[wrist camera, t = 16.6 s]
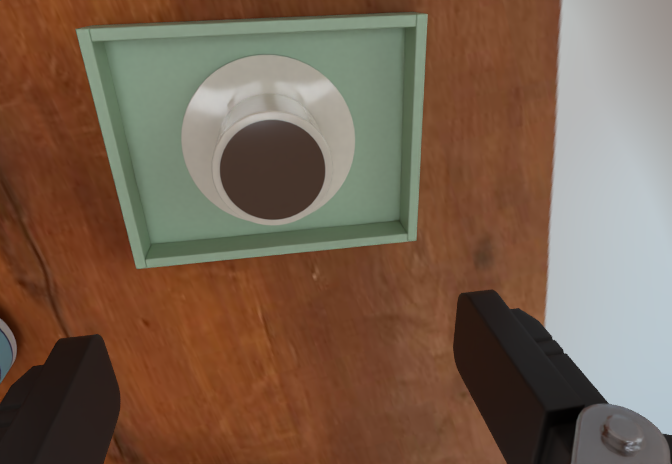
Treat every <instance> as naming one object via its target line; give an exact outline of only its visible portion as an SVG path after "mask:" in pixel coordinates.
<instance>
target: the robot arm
mask: <svg viewBox="0 0 672 464" xmlns="http://www.w3.org/2000/svg"><path fill="white" fill-rule="evenodd" d="M453 351H454V358H455V362H456V366H457V369H458V371H459V373H460V375H461V377H462V379H463V381H464V383H465V385H466V386H467V388H468V390H469V392H470V394H471V396H472V398H473V400H474V402H475V404H476V405H477V407H478V409H479V411H480V413H481V415H482V417H483V419H484V421H485V422H486V424H487V426H488V428H489V430H490V432H491V434H492V436H493V438H494V440H495V441H496V443H497V445H498V447H499V449H500V451H501V453H502V455H503V457H504V459H505V460H506V462H507V464H672V435H667V434H662V433H661V432H660V430H659V429H658V428H657V427H656V426H655V425H654V424H652V423H651V422H650V421H649V420H647V419H646V418H645V417H643V416H641V415H640V414H638V413H636V412H634V411H632V410H629V409H627V408H624V407H621V406H617V405H612V404H609V403H608V402H607V401H606V400H605V399H604V398H603V396H602V395H601V394H600V393H599V392H598V390H597V389H596V388H595V387H594V386H593V384H592V383H591V382H590V381H589V380H588V379H587V377H586V376H585V375H584V374H583V373H582V371H581V370H580V369H579V368H578V367H577V366H576V364H575V363H574V362H573V361H572V360H571V358H569V356H568V355H567V354H564V352H563V349H562V348H561V347H560V346H559V344H558V343H557V342H556V341H555V340H553V339H552V336H551V335H550V334H549V333H548V331H547V330H546V329H545V328H544V327H543V325H542V324H541V323H540V322H539V321H538V320H536V319H535V318H533V317H532V316H530V315H528V314H527V313H525V312H524V311H522V310H521V309H519V308H517V309H509V307H508V306H507V305H506V304H505V302H504V301H503V300H502V298H501V297H500V296H499V295H498V293H497V292H496V291H494V290H484V291H475V292H467V293H461V294H460V295H459V297H458V302H457V313H456V323H455V333H454V343H453ZM119 411H120V391H119V386H118V383H117V380H116V377H115V374H114V370H113V367H112V364H111V361H110V358H109V355H108V352H107V349H106V346H105V343H104V340H103V338H102V337H101V336H100V335H98V334H96V335H87V336H79V337H70V338H62V339H59V340H58V341H57V343H56V344H55V346H54V348H53V349H52V351H51V353H50V355H49V357H48V358H47V360H46V362H45V364H44V365H39V366H33V367H32V368H31V369H29V370H28V371H27V372H26V373H25V374H24V375H23V376H22V377H21V378H19V379H18V380H17V381H16V382H15V383H14V384H13V385H12V386H11V387H10V389H9V390H8V392H7V393H6V395H5V397H4V398H3V400H2V402H1V403H0V464H103V463H104V460H105V457H106V454H107V451H108V448H109V444H110V441H111V438H112V435H113V432H114V429H115V426H116V423H117V420H118V416H119Z"/></svg>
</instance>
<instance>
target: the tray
mask: <svg viewBox="0 0 672 464" xmlns="http://www.w3.org/2000/svg"><path fill="white" fill-rule="evenodd" d="M427 16H428V15H427V14H424V13H417V12H399V13H375V14H352V15H328V16H304V17H280V18H257V19H233V20H209V21H185V22H162V23H138V24H114V25H92V26H87V27H82V28H78V29H76V33H77V37H78V41H79V45H80V49H81V53H82V57H83V61H84V65H85V69H86V73H87V77H88V80H89V84H90V88H91V92H92V96H93V100H94V104H95V108H96V112H97V116H98V120H99V124H100V128H101V131H102V135H103V139H104V143H105V147H106V151H107V155H108V159H109V163H110V167H111V171H112V175H113V179H114V182H115V186H116V190H117V194H118V198H119V202H120V206H121V210H122V214H123V218H124V222H125V226H126V230H127V234H128V237H129V241H130V245H131V249H132V253H133V257H134V261H135V265H136V268H137V269H142V268H151V267H161V266H171V265H181V264H191V263H201V262H210V261H220V260H230V259H240V258H250V257H260V256H270V255H280V254H289V253H299V252H309V251H319V250H329V249H339V248H349V247H359V246H369V245H378V244H388V243H398V242H407V241H416V238H417V218H418V198H419V178H420V157H421V137H422V117H423V97H424V77H425V56H426V36H427ZM255 54H278V55H285V56H289V57H292V58H295V59H298V60H300V61H303V62H305V63H307V64H309V65H311V66H312V67H314V68H315V69H317V70H319V71H320V72H321V73H322V74H323V75H325V76H326V77H327V78H328V79H329V80H330V81H331V82H332V83H333V84H334V86H335V87H336V88H337V89H338V91H339V92H340V94H341V95H342V96H343V98H344V100H345V102H346V104H347V106H348V108H349V111H350V113H351V116H352V120H353V124H354V130H355V152H354V157H353V162H352V165H351V168H350V171H349V173H348V175H347V177H346V179H345V181H344V183H343V184H342V186H341V187H340V189H339V190H338V191H337V192H336V194H335V195H334V196H333V197H332V198H331V199H330V200H329V201H328V202H327V203H326V204H324V205H323V206H322V207H320V208H319V209H318V210H316V211H314V212H312V213H311V214H309V215H307V216H305V217H303V218H301V219H299V220H297V221H295V222H292V223H288V224H283V225H262V224H257V223H254V222H251V221H246V220H243V219H240V218H237V217H235V216H233V215H231V214H229V213H226V212H225V211H223V210H222V209H220V208H218V207H217V206H216V205H214V204H213V203H212V202H211V201H210V200H208V199H207V197H206V196H205V195H204V194H203V193H202V192H201V191H200V190H199V188H198V187H197V186H196V184H195V183H194V181H193V179H192V178H191V176H190V174H189V172H188V169H187V167H186V164H185V161H184V157H183V153H182V144H181V129H182V123H183V118H184V115H185V112H186V108H187V106H188V104H189V102H190V100H191V98H192V96H193V94H194V93H195V91H196V90H197V88H198V87H199V85H200V84H201V83H202V82H203V81H204V80H205V79H206V78H207V77H208V76H209V75H210V74H211V73H213V72H214V71H215V70H216V69H218V68H219V67H221V66H223V65H224V64H226V63H228V62H230V61H233V60H235V59H237V58H241V57H244V56H248V55H255Z"/></svg>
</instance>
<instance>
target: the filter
mask: <svg viewBox="0 0 672 464" xmlns="http://www.w3.org/2000/svg"><path fill="white" fill-rule="evenodd" d="M181 144H182V153H183V157H184V161H185V164H186V167H187V169H188V172H189V174H190V176H191V178H192V179H193V181H194V183H195V184H196V186H197V187H198V188H199V190H200V191H201V192H202V193H203V194H204V195H205V196H206V197H207V199H208V200H210V201H211V202H212V203H213V204H214V205H216V206H217V207H218V208H220V209H222V210H223V211H225V212H226V213H229V214H231V215H233V216H235V217H237V218H240V219H243V220H246V221H251V222H254V223H257V224H262V225H283V224H288V223H292V222H295V221H297V220H299V219H301V218H303V217H305V216H307V215H309V214H311V213H312V212H314V211H316V210H318V209H319V208H320V207H322V206H323V205H324V204H326V203H327V202H328V201H329V200H330V199H331V198H332V197H333V196H334V195H335V194H336V192H337V191H338V190H339V189H340V187H341V186H342V184H343V183H344V181H345V179H346V177H347V175H348V173H349V171H350V168H351V165H352V162H353V157H354V152H355V130H354V124H353V120H352V116H351V113H350V111H349V108H348V106H347V104H346V102H345V100H344V98H343V96H342V95H341V94H340V92H339V91H338V89H337V88H336V87H335V86H334V84H333V83H332V82H331V81H330V80H329V79H328V78H327V77H326V76H325V75H323V74H322V73H321V72H320V71H319V70H317V69H315V68H314V67H312V66H311V65H309V64H307V63H305V62H303V61H300V60H298V59H295V58H292V57H289V56H285V55H278V54H255V55H248V56H244V57H241V58H237V59H235V60H233V61H230V62H228V63H226V64H224V65H223V66H221V67H219V68H218V69H216V70H215V71H214V72H213V73H211V74H210V75H209V76H208V77H207V78H206V79H205V80H204V81H203V82H202V83H201V84H200V85H199V87H198V88H197V90H196V91H195V93H194V94H193V96H192V98H191V100H190V102H189V104H188V106H187V108H186V112H185V115H184V118H183V123H182V129H181Z"/></svg>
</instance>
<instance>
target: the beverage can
mask: <svg viewBox="0 0 672 464" xmlns="http://www.w3.org/2000/svg"><path fill="white" fill-rule="evenodd" d="M16 354H17V345H16V340H15V338H14V335H13V333H12V331H11V330H10V328H9V327H8V326H7V324H6V323H5V322H4V321H3V320H2V319H1V318H0V383H1V382H2V380H3V379H4V377H5V375H6V374H7V372H8V371H9V369H10V368H11V366H12V365H13V363H14V361H15V358H16Z"/></svg>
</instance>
